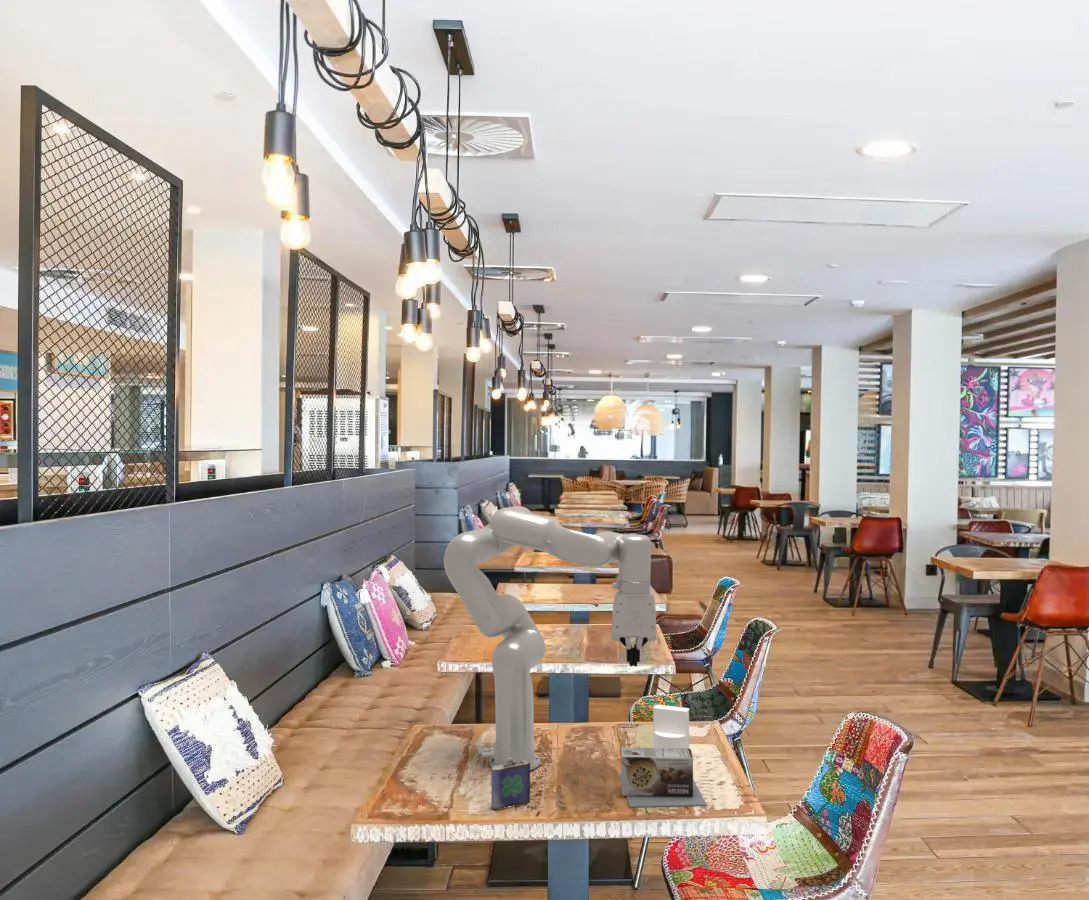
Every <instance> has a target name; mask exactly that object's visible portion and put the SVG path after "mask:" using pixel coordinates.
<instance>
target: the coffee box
mask: <svg viewBox="0 0 1089 900" xmlns="http://www.w3.org/2000/svg"><path fill="white" fill-rule="evenodd" d="M620 774H621V779H620V788H621V796H623V797H624V796H625V797H626V796H664V797H693V780H694V758H693V753H692V750H691V748H689V749H678V748H654V747H630V746H628V747H625V746H621V747H620Z"/></svg>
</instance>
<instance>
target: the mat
mask: <svg viewBox="0 0 1089 900" xmlns="http://www.w3.org/2000/svg"><path fill="white" fill-rule="evenodd" d="M619 779H620V780H621V773H620V774H619ZM625 797H626V800H627V804H628V806H629V808H633V807H634V808H667V807H668V806H669V807H668V808H670V807H671V808H674V807H675V808H676V807H707V806H708V804H707V802H706V800H705V799H704V797H703V795H702V793H701V791H700V789H699V788H698V786H697V783H696V782H695V780H694V779H693V797H664V796H625ZM663 806H664V807H663Z"/></svg>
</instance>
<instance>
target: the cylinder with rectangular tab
mask: <svg viewBox="0 0 1089 900" xmlns="http://www.w3.org/2000/svg"><path fill="white" fill-rule="evenodd" d="M652 708H653V710H652V711H653V713H652V714H653V721H652V723H653V748H678V749H690V708H688V707H682V706H681V707H680V706H672V705H664V704H661V705H660V704H655V705H653V707H652Z"/></svg>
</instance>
